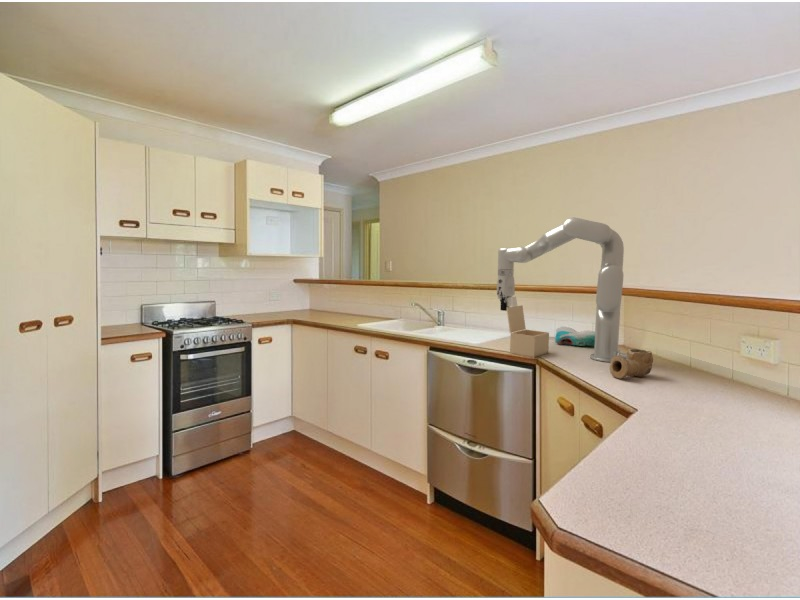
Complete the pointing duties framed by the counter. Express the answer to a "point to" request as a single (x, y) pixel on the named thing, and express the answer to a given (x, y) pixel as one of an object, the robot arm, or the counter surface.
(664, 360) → the counter surface
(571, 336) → the athletic shoe
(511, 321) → the lid flap
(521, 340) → the carton
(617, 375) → the pipe
